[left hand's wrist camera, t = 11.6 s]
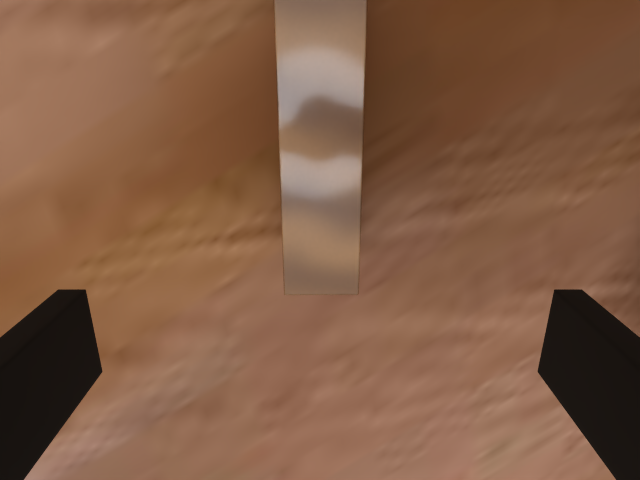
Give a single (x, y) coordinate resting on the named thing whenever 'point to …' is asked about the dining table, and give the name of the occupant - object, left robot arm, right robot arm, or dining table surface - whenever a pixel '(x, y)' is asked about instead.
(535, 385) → the dining table surface
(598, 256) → the dining table surface
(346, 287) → the bar
